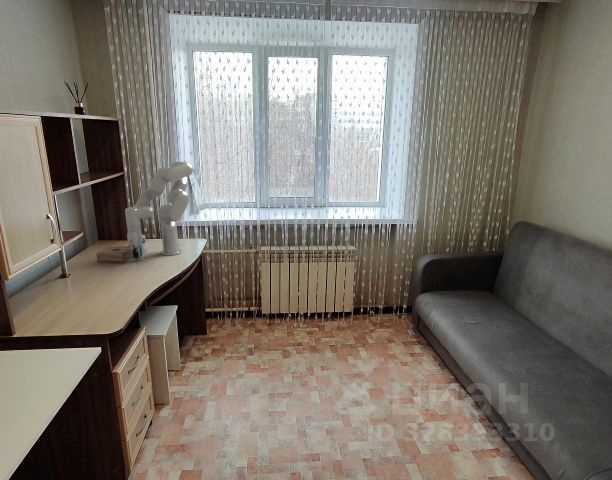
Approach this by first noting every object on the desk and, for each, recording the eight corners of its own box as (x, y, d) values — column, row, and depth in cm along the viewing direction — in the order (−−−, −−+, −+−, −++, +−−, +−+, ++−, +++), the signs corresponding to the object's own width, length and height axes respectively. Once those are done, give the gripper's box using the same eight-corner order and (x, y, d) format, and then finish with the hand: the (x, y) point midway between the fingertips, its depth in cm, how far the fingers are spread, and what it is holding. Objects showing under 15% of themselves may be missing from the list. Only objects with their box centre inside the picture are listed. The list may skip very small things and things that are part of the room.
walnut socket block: (111, 254, 256) (110, 245, 255) (135, 255, 255) (134, 246, 254) (97, 262, 241) (96, 253, 239) (123, 263, 240) (121, 254, 238)
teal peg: (137, 260, 246) (135, 244, 243) (142, 260, 246) (140, 244, 243) (134, 261, 243) (132, 246, 240) (139, 261, 243) (137, 246, 240)
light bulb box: (147, 250, 264) (145, 235, 261) (138, 253, 259) (136, 237, 256) (137, 248, 270) (135, 232, 266) (128, 250, 264) (126, 235, 261)
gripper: (134, 224, 246) (138, 252, 252) (121, 231, 231) (125, 261, 236) (146, 224, 246) (149, 252, 251) (133, 231, 230) (137, 261, 235)
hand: (137, 256), depth 243 cm, fingers closed on teal peg, 3 cm apart
